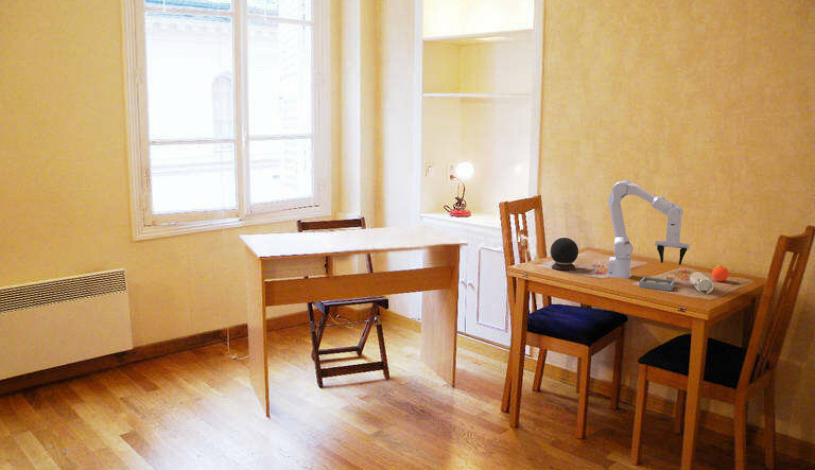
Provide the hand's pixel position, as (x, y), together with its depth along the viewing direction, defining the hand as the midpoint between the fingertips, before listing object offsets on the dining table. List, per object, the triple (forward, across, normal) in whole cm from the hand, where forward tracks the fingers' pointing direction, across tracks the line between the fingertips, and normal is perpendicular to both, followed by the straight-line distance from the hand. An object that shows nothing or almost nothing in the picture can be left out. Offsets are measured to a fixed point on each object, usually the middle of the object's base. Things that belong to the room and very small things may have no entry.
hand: (670, 263), depth 333 cm
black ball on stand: (+10, -49, +4) cm, 50 cm away
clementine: (+9, +19, +16) cm, 27 cm away
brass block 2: (+9, -1, -10) cm, 14 cm away
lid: (+10, -3, 0) cm, 10 cm away
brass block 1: (+9, -6, -10) cm, 15 cm away
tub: (+9, -3, -10) cm, 14 cm away
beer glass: (+6, +11, +3) cm, 13 cm away
